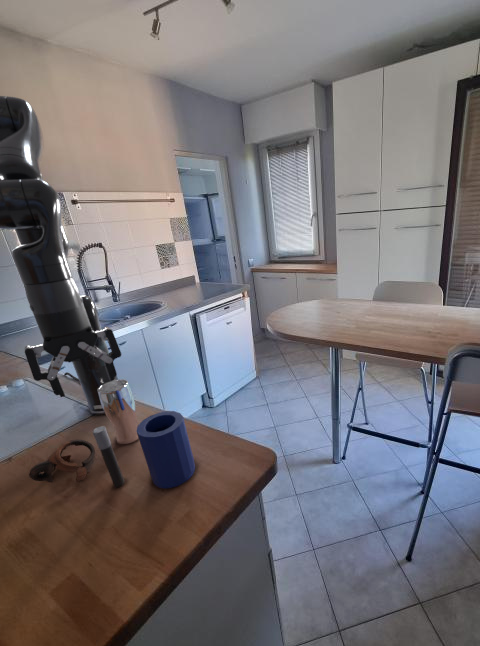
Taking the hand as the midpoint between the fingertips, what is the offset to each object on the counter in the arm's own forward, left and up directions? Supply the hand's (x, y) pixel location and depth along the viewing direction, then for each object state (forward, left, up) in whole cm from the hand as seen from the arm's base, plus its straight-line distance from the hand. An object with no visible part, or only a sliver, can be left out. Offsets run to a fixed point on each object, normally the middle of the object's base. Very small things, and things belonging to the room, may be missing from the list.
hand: (88, 387), depth 65 cm
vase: (+9, +9, -22) cm, 25 cm away
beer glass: (-12, +5, -22) cm, 26 cm away
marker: (+4, -1, -22) cm, 22 cm away
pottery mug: (-7, -9, -22) cm, 25 cm away
